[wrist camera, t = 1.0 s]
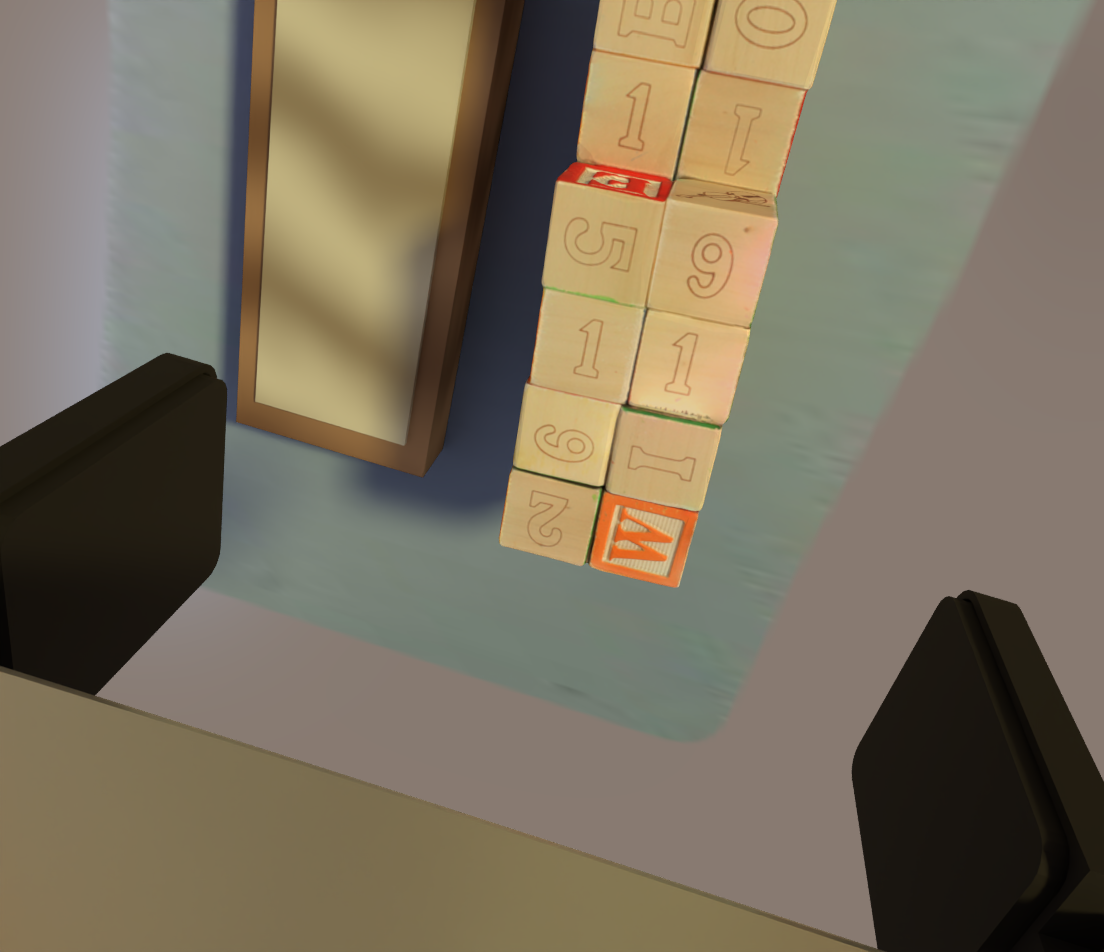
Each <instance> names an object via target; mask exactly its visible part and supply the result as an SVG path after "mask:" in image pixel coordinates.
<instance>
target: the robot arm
mask: <svg viewBox="0 0 1104 952" xmlns="http://www.w3.org/2000/svg"><path fill="white" fill-rule="evenodd" d="M226 407H227V388H226V384H225V383H224V381H223V380H220V379H217V375H216V372H215V369H214V368H213V367H212V366H211V365H208V364H204V363H201V362H198V361H194V360H191V359H188V358H184V357H181V356H177V355H174V354H170V353H165V354H162V355H160V356H158V357H156V358H154V359H153V360H151V361H149V362H147V363H146V364H144V365H142V366H140V367H139V368H137V369H135V370H133V371H132V372H130V373H128V374H126V375H125V376H123V377H121V378H119V379H118V380H116V381H114V382H112V383H111V384H109V385H107V386H105V387H104V388H102V389H100V390H98V391H97V392H95V393H93V394H91V395H90V396H88V397H86V398H85V399H83V400H81V401H79V402H77V403H76V404H74V405H72V406H70V407H69V408H67V409H65V410H63V411H62V412H60V413H58V414H56V415H55V416H53V417H51V418H50V419H48V420H46V421H44V422H43V423H41V424H39V425H37V426H35V427H34V428H32V429H30V430H28V431H27V432H25V433H23V434H22V435H20V436H18V437H16V438H15V439H13V440H11V441H9V442H7V443H6V444H4V445H2V446H1V447H0V952H1104V781H1103V779H1102V777H1101V775H1100V773H1099V771H1098V769H1097V767H1096V765H1095V763H1094V761H1093V758H1092V756H1091V754H1090V752H1089V750H1088V748H1087V746H1086V744H1085V742H1084V740H1083V738H1082V736H1081V734H1080V731H1079V729H1078V727H1077V725H1076V723H1075V721H1074V719H1073V717H1072V715H1071V713H1070V711H1069V709H1068V707H1067V705H1066V702H1065V701H1064V698H1063V697H1062V694H1061V692H1060V690H1059V688H1058V686H1057V684H1056V682H1055V680H1054V678H1053V675H1052V673H1051V671H1050V669H1049V667H1048V665H1047V663H1046V661H1045V659H1044V657H1043V655H1042V653H1041V651H1040V648H1039V646H1038V644H1037V642H1036V640H1035V638H1034V636H1033V634H1032V632H1031V630H1030V628H1029V626H1028V624H1027V621H1026V620H1025V617H1024V615H1023V613H1022V611H1021V609H1020V608H1019V607H1018V606H1017V604H1014V603H1011V602H1008V601H1004V600H1001V599H998V598H994V597H991V596H988V595H984V594H980V593H977V592H974V591H971V590H967V591H964V592H962V593H961V594H960V595H959V596H958V597H957V598H953V597H950V596H948V597H945V598H944V599H943V600H942V601H941V602H940V603H939V605H938V606H937V608H936V610H935V611H934V613H933V615H932V617H931V619H930V620H929V622H928V624H927V625H926V627H925V629H924V631H923V632H922V634H921V636H920V638H919V640H918V642H917V643H916V645H915V647H914V648H913V650H912V652H911V654H910V656H909V657H908V659H907V661H906V662H905V664H904V666H903V668H902V669H901V671H900V673H899V675H898V677H897V679H896V680H895V682H894V684H893V685H892V687H891V689H890V691H889V692H888V694H887V696H886V698H885V699H884V701H883V703H882V705H881V707H880V708H879V710H878V712H877V714H876V715H875V717H874V719H873V721H872V722H871V724H870V726H869V728H868V729H867V731H866V733H865V735H864V736H863V738H862V740H861V742H860V743H859V745H858V747H857V750H856V752H855V755H854V759H853V764H852V781H853V788H854V794H855V801H856V808H857V815H858V821H859V828H860V835H861V841H862V848H863V855H864V861H865V868H866V874H867V881H868V888H869V894H870V901H871V908H872V915H873V921H874V928H875V935H876V941H877V948H878V949H876V948H873V947H870V946H867V945H864V944H861V943H858V942H855V941H852V940H849V939H846V938H843V937H840V936H837V935H834V934H831V933H828V932H825V931H822V930H819V929H816V928H813V927H810V926H807V925H804V924H801V923H798V922H795V921H792V920H789V919H786V918H783V917H779V916H776V915H774V914H770V913H767V912H764V911H761V910H758V909H755V908H752V907H749V906H746V905H743V904H740V903H737V902H734V901H731V900H728V899H725V898H722V897H719V896H716V895H713V894H710V893H707V892H704V891H700V890H697V889H694V888H691V887H688V886H685V885H682V884H679V883H676V882H673V881H670V880H667V879H664V878H661V877H658V876H655V875H652V874H649V873H646V872H643V871H640V870H637V869H634V868H631V867H627V866H625V865H622V864H618V863H615V862H612V861H609V860H606V859H603V858H600V857H597V856H594V855H591V854H588V853H585V852H582V851H579V850H575V849H573V848H569V847H566V846H563V845H560V844H557V843H554V842H551V841H548V840H545V839H542V838H539V837H535V836H532V835H529V834H526V833H523V832H520V831H517V830H514V829H511V828H508V827H505V826H501V825H499V824H495V823H492V822H489V821H486V820H483V819H480V818H477V817H474V816H471V815H468V814H465V813H461V812H458V811H455V810H452V809H449V808H446V807H443V806H439V805H437V804H433V803H430V802H427V801H424V800H421V799H418V798H415V797H412V796H408V795H405V794H402V793H399V792H396V791H393V790H390V789H387V788H384V787H381V786H377V785H374V784H371V783H368V782H365V781H362V780H359V779H356V778H353V777H350V776H347V775H343V774H340V773H337V772H334V771H331V770H328V769H325V768H321V767H319V766H315V765H312V764H309V763H306V762H303V761H300V760H296V759H293V758H290V757H287V756H284V755H280V754H278V753H274V752H271V751H268V750H265V749H262V748H258V747H255V746H252V745H249V744H246V743H243V742H240V741H236V740H233V739H230V738H227V737H224V736H221V735H217V734H214V733H211V732H208V731H205V730H202V729H199V728H195V727H192V726H189V725H186V724H182V723H180V722H176V721H173V720H170V719H167V718H163V717H160V716H157V715H154V714H151V713H148V712H145V711H142V710H138V709H135V708H132V707H129V706H126V705H123V704H120V703H116V702H113V701H110V700H107V699H103V698H101V697H97V696H95V695H96V694H97V693H98V692H99V691H100V690H101V689H102V688H103V687H104V686H105V685H106V683H107V682H108V681H109V680H110V679H111V678H112V677H113V676H114V675H115V674H116V673H117V672H118V671H119V670H120V669H121V668H122V667H123V666H124V665H125V664H126V663H127V662H128V661H129V660H130V658H131V657H132V656H133V655H134V654H135V653H136V652H137V651H138V650H139V649H140V648H141V647H142V646H143V645H144V644H145V643H146V642H147V641H148V640H149V639H150V638H151V636H152V635H153V634H154V633H155V632H156V631H157V630H158V629H159V628H160V627H161V626H162V625H163V624H164V623H165V622H166V621H167V620H168V619H169V618H170V617H171V616H172V615H173V614H174V613H175V612H176V610H178V608H179V607H180V606H181V605H182V604H183V603H184V602H185V601H186V600H187V599H188V598H189V597H190V596H191V595H192V594H193V593H194V592H195V591H196V590H197V589H198V588H199V587H200V586H201V585H202V583H203V582H204V581H205V580H206V579H207V578H208V577H209V576H210V575H211V573H212V572H213V570H214V568H215V566H216V564H217V561H218V558H219V555H220V548H221V524H222V501H223V478H224V454H225V431H226Z"/></svg>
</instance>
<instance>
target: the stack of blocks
mask: <svg viewBox="0 0 1104 952" xmlns="http://www.w3.org/2000/svg"><path fill="white" fill-rule="evenodd" d="M836 2H837V0H600V3H599V9H598V15H597V22H596V28H595V35H594V42H593V50H592V54H591V58H590V63H589V70H588V76H587V81H586V88H585V95H584V102H583V110H582V117H581V124H580V131H579V137H578V145H577V154H576V155H577V162H575V163H572V164H571V165H570V166H569V168H568V169H567V170H565V171H564V172H563V173H562V174H561V175H560V176H559V177H558V179H557V180H556V184H555V191H554V198H553V205H552V212H551V219H550V226H549V233H548V240H547V248H546V255H545V262H544V269H543V275H542V285H543V296H542V301H541V307H540V313H539V320H538V326H537V333H536V341H535V347H534V353H533V360H532V367H531V374H530V376H529V378H528V379H527V381H526V384H525V387H524V393H523V400H522V406H521V413H520V420H519V427H518V433H517V439H516V445H515V451H514V457H513V467H512V469H511V472H510V475H509V481H508V488H507V493H506V499H505V505H504V511H503V517H502V523H501V529H500V535H499V544H501V545H502V546H505V547H509V548H513V549H518V550H521V551H525V552H529V553H533V554H537V555H541V556H545V557H549V558H553V559H557V560H560V561H564V562H567V563H571V564H574V565H578V566H582V565H584V564H585V563H588V564H589V565H590V566H591V567H593V568H595V569H598V570H601V571H605V572H609V573H614V574H618V575H622V576H626V577H630V578H634V579H639V580H643V581H647V582H652V583H656V584H660V585H665V586H670V587H679V583H680V580H681V577H682V573H683V569H684V566H685V562H686V558H687V554H688V551H689V547H690V544H691V540H692V537H693V533H694V530H695V526H696V523H697V519H698V512H699V510H701V509H702V507H703V503H704V499H705V495H706V491H707V487H708V483H709V479H710V476H711V472H712V468H713V464H714V460H715V456H716V452H717V448H718V444H719V440H720V436H721V430H722V424H723V423H725V422H726V421H727V420H728V418H729V415H730V411H731V407H732V404H733V400H734V395H735V391H736V387H737V384H738V380H739V377H740V373H741V369H742V365H743V361H744V357H745V354H746V350H747V346H748V342H749V336H750V329H751V323H752V321H753V318H754V315H755V311H756V307H757V303H758V300H759V296H760V292H761V288H762V284H763V280H764V276H765V273H766V269H767V265H768V262H769V258H770V254H771V250H772V246H773V242H774V238H775V234H776V231H777V228H778V212H777V201H776V197H777V195H778V192H779V188H780V184H781V180H782V177H783V173H784V170H785V167H786V163H787V159H788V156H789V152H790V149H791V145H792V142H793V138H794V135H795V131H796V128H797V124H798V121H799V117H800V114H801V110H802V107H803V103H804V99H805V96H806V93H807V91H808V90H809V89H810V88H811V87H812V85H813V82H814V78H815V75H816V72H817V68H818V65H819V61H820V58H821V55H822V51H823V48H824V45H825V41H826V38H827V34H828V31H829V27H830V23H831V20H832V16H833V13H834V9H835V5H836Z"/></svg>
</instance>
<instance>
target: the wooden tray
mask: <svg viewBox="0 0 1104 952" xmlns="http://www.w3.org/2000/svg"><path fill="white" fill-rule="evenodd" d="M524 1H525V0H255V7H254V30H253V52H252V75H251V98H250V121H249V144H248V167H247V190H246V213H245V235H244V258H243V281H242V304H241V327H240V350H239V373H238V396H237V418H236V422H239V423H242V424H245V425H249V426H252V427H255V428H259V429H262V430H265V431H269V432H272V433H275V434H279V435H282V436H285V437H289V438H292V439H295V440H299V441H302V442H305V443H309V444H312V445H315V446H319V447H322V448H326V449H329V450H332V451H336V452H339V453H342V454H346V455H349V456H352V457H356V458H359V459H362V460H366V461H369V462H372V463H376V464H379V465H382V466H386V467H389V468H392V469H396V470H399V471H402V472H406V473H409V474H413V475H416V476H419V477H424V475H425V474H426V472H427V471H428V470H429V468H430V467H431V465H432V464H433V462H434V461H435V459H436V458H437V456H438V455H439V453H440V452H441V451H442V449H443V445H444V439H445V434H446V428H447V423H448V417H449V412H450V406H451V401H452V395H453V390H454V385H455V379H456V374H457V368H458V363H459V357H460V352H461V346H462V341H463V335H464V330H465V324H466V319H467V313H468V308H469V302H470V297H471V291H472V286H473V281H474V275H475V270H476V264H477V259H478V253H479V248H480V242H481V237H482V231H483V226H484V220H485V215H486V209H487V204H488V198H489V193H490V188H491V182H492V177H493V171H494V166H495V160H496V155H497V149H498V144H499V138H500V133H501V127H502V122H503V116H504V111H505V105H506V100H507V94H508V89H509V84H510V78H511V73H512V67H513V62H514V56H515V51H516V45H517V40H518V34H519V29H520V23H521V18H522V12H523V7H524Z"/></svg>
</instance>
